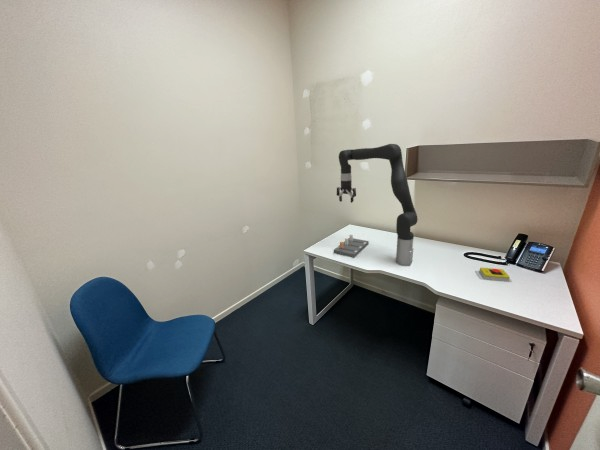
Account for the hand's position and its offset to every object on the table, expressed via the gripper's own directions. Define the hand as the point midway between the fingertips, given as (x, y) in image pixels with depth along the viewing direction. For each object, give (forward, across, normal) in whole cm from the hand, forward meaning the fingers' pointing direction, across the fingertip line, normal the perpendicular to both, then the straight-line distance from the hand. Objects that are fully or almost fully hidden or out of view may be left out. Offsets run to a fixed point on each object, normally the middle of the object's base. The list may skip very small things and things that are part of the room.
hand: (346, 201), depth 181 cm
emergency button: (+35, -90, +2) cm, 97 cm away
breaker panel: (+34, -6, +4) cm, 35 cm away
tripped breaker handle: (+31, -2, +12) cm, 33 cm away
